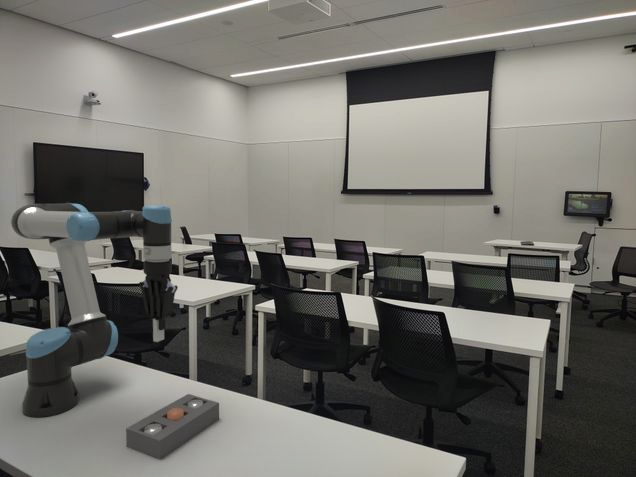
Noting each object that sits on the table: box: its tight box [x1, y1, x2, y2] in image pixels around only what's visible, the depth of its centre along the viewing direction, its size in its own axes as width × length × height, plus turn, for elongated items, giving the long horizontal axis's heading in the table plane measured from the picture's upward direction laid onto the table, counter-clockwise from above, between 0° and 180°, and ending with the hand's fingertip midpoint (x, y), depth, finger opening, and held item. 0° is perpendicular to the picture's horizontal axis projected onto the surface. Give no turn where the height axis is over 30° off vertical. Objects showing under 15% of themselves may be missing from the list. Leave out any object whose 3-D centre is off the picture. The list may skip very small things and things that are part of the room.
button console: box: [125, 393, 220, 460], centre depth 125 cm, size 12×23×5 cm, turn 153°
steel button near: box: [144, 424, 162, 435], centre depth 118 cm, size 4×4×4 cm
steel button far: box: [188, 400, 203, 409], centre depth 132 cm, size 4×4×4 cm
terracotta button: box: [167, 408, 184, 421], centre depth 125 cm, size 4×4×4 cm
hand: (158, 340), depth 129 cm, fingers closed
